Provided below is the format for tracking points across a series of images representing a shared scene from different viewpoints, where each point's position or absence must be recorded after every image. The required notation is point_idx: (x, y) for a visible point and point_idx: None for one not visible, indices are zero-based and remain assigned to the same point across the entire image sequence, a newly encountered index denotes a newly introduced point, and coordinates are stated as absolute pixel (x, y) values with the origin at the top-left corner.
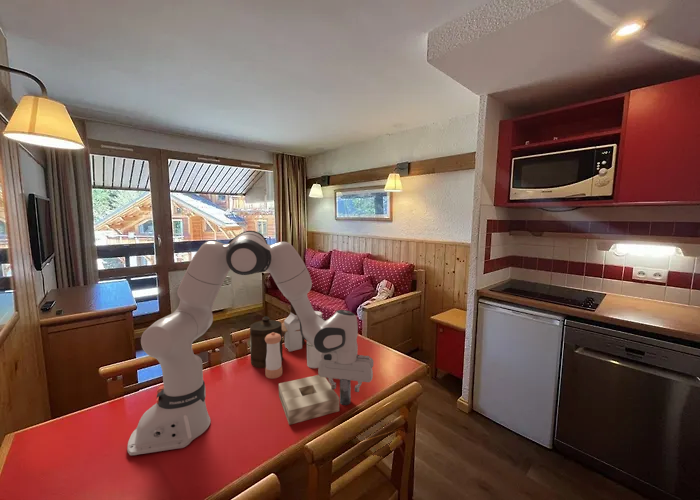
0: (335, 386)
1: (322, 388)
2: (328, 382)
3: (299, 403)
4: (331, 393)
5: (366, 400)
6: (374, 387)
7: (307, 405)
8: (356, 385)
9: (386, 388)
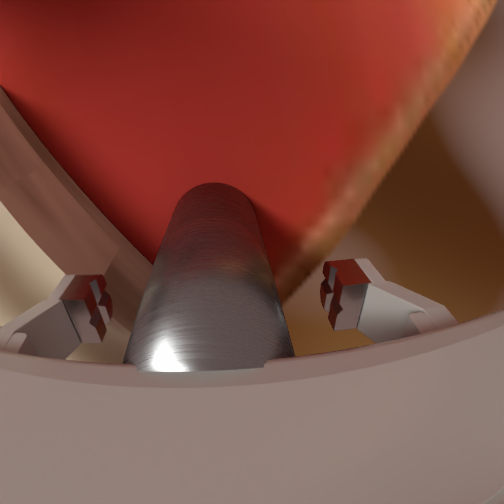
0: (100, 296)
1: (24, 310)
2: (5, 211)
3: None
4: (119, 356)
5: (369, 169)
6: (404, 6)
7: None
8: (353, 291)
9: (467, 30)
